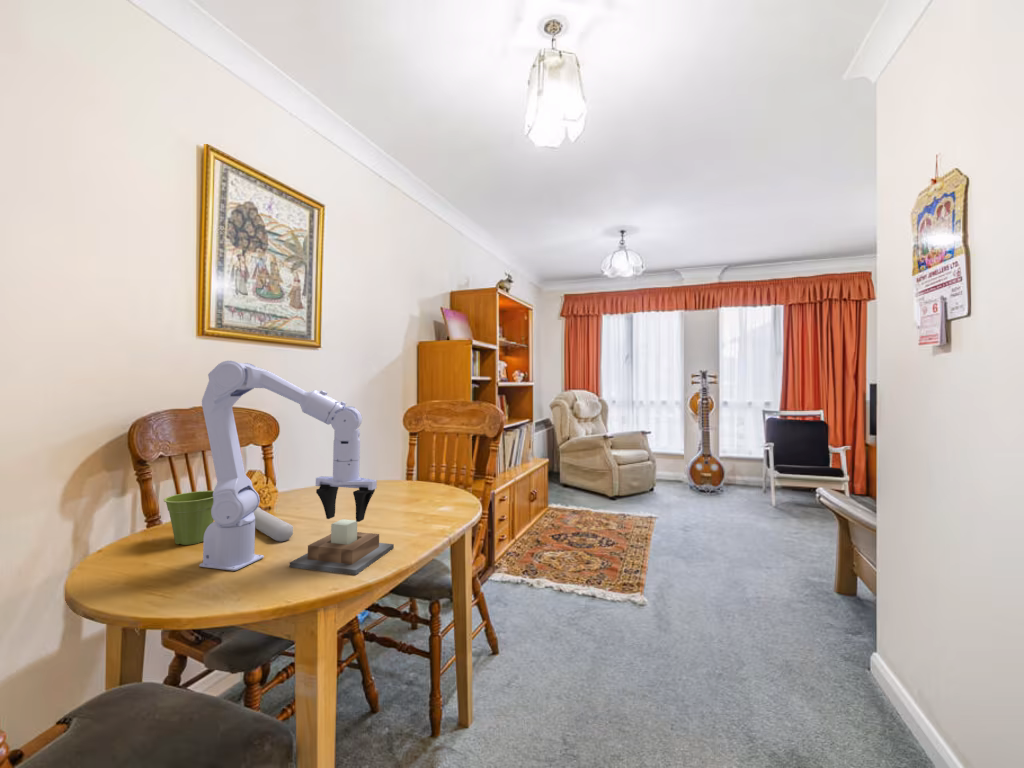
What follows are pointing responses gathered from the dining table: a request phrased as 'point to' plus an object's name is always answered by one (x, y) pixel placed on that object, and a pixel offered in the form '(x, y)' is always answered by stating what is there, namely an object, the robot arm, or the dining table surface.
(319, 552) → the socket
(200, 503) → the plant pot
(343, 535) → the peg
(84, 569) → the dining table surface
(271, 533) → the tube
